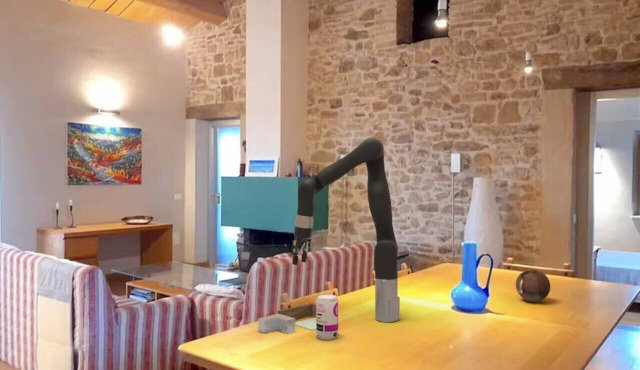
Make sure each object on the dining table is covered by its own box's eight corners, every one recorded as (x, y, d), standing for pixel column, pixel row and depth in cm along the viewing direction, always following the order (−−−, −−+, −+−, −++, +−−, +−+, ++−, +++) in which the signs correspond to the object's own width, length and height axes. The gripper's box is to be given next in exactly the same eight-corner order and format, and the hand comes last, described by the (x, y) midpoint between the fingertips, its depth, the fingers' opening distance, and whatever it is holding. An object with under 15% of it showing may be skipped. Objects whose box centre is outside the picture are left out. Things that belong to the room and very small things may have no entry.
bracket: (295, 331, 204) (295, 318, 204) (274, 337, 198) (274, 323, 197) (278, 326, 212) (278, 313, 212) (258, 331, 205) (258, 318, 205)
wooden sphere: (544, 298, 257) (544, 267, 257) (554, 305, 242) (555, 272, 242) (512, 297, 259) (512, 266, 258) (520, 305, 244) (520, 272, 243)
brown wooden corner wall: (334, 320, 219) (334, 308, 219) (299, 330, 206) (299, 317, 206) (312, 314, 229) (311, 302, 229) (277, 323, 216) (277, 310, 216)
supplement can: (341, 334, 200) (340, 294, 200) (334, 341, 192) (334, 299, 192) (320, 332, 203) (320, 293, 202) (313, 339, 195) (313, 298, 194)
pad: (334, 324, 214) (334, 323, 214) (312, 330, 206) (312, 329, 206) (313, 318, 223) (313, 317, 223) (291, 324, 214) (291, 323, 214)
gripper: (304, 228, 220) (299, 267, 221) (318, 226, 233) (314, 262, 234) (288, 225, 223) (283, 263, 224) (303, 223, 236) (298, 259, 237)
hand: (299, 263), depth 229 cm, fingers open, 8 cm apart
